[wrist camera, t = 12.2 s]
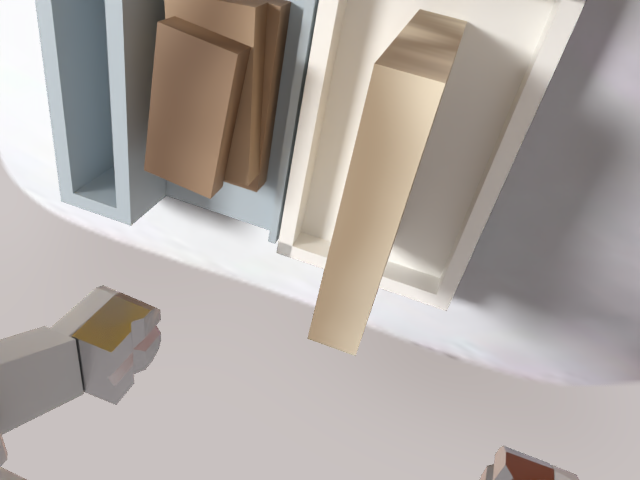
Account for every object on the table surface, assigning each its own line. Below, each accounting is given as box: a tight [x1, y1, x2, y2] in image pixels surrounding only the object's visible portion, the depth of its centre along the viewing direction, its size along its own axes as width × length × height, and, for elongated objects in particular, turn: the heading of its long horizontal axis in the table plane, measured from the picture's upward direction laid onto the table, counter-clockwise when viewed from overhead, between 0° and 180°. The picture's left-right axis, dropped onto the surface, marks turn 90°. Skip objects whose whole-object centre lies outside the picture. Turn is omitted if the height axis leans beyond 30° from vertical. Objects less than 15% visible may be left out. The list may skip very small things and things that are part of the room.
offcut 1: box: [144, 16, 251, 199], centre depth 23 cm, size 4×7×1 cm, turn 163°
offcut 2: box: [164, 0, 268, 186], centre depth 24 cm, size 4×8×1 cm, turn 173°
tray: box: [277, 0, 586, 311], centre depth 24 cm, size 10×16×2 cm, turn 169°
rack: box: [35, 0, 319, 244], centre depth 25 cm, size 12×15×4 cm
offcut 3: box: [224, 0, 291, 192], centre depth 25 cm, size 5×9×1 cm, turn 169°
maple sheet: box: [308, 9, 467, 356], centre depth 21 cm, size 2×11×9 cm, turn 169°
